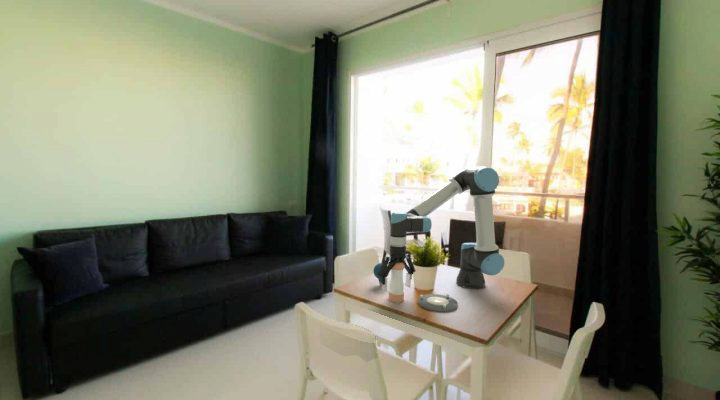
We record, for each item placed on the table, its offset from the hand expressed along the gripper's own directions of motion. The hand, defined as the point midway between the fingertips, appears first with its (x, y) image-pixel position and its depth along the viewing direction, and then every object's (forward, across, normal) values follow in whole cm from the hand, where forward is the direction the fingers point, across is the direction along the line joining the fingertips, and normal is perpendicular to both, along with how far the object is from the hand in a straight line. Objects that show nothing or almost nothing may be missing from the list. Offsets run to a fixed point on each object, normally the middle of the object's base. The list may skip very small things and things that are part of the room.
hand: (396, 288), depth 157 cm
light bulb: (+5, -4, -20) cm, 21 cm away
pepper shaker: (+5, 0, 0) cm, 5 cm away
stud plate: (+5, -14, +13) cm, 20 cm away
